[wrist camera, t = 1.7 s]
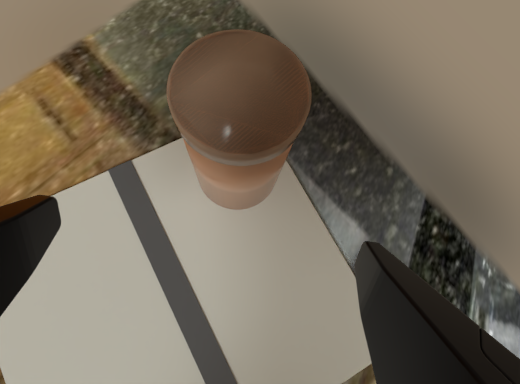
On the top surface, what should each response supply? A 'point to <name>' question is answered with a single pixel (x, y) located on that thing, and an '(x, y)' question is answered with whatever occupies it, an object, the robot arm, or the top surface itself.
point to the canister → (238, 112)
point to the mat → (184, 287)
